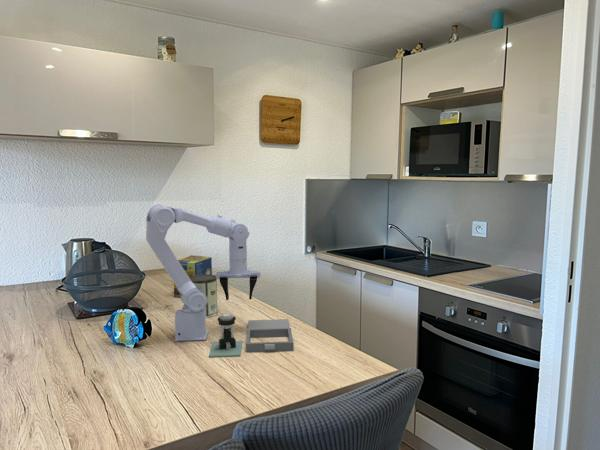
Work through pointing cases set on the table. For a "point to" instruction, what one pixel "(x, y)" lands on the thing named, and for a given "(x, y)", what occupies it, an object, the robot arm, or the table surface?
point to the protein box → (195, 267)
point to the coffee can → (207, 291)
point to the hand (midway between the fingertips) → (239, 298)
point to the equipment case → (269, 335)
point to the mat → (225, 350)
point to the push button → (226, 331)
